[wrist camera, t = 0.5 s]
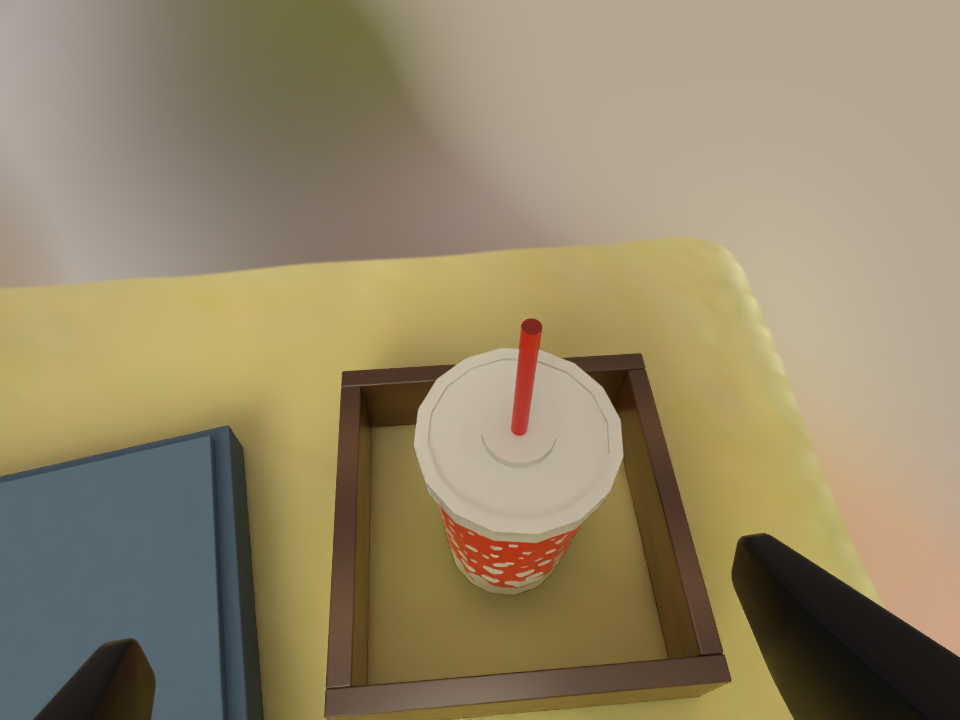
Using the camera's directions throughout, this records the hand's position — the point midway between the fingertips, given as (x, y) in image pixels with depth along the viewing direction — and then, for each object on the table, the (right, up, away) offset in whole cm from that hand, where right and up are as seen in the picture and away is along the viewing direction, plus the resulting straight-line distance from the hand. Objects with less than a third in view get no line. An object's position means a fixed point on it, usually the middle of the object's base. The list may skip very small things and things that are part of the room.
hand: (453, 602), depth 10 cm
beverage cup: (+1, -4, +17) cm, 17 cm away
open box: (+1, -4, +16) cm, 17 cm away
